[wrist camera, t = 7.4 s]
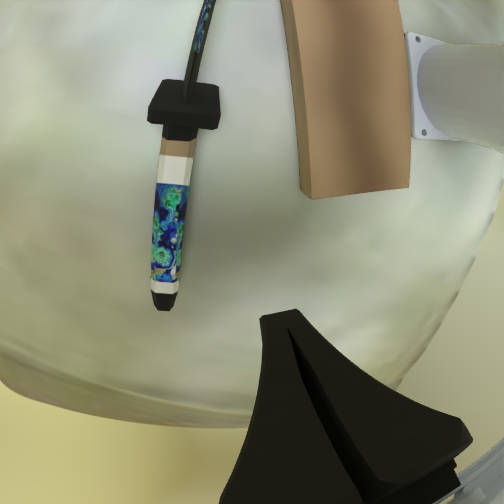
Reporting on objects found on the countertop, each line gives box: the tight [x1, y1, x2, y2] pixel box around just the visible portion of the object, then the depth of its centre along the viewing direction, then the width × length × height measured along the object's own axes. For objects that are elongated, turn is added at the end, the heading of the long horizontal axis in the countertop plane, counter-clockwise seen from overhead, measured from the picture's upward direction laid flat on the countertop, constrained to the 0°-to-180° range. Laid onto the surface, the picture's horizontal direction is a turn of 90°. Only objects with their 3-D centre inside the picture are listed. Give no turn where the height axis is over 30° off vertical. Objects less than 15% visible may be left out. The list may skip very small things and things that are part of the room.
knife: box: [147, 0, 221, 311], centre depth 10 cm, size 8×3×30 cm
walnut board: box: [280, 0, 411, 200], centre depth 12 cm, size 7×20×2 cm, turn 7°
